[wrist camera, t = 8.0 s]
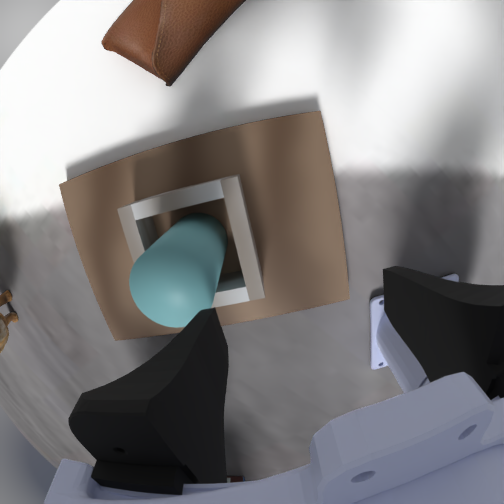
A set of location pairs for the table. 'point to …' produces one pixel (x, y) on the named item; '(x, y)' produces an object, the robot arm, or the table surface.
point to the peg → (180, 271)
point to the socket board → (219, 219)
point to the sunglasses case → (166, 32)
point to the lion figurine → (5, 319)
